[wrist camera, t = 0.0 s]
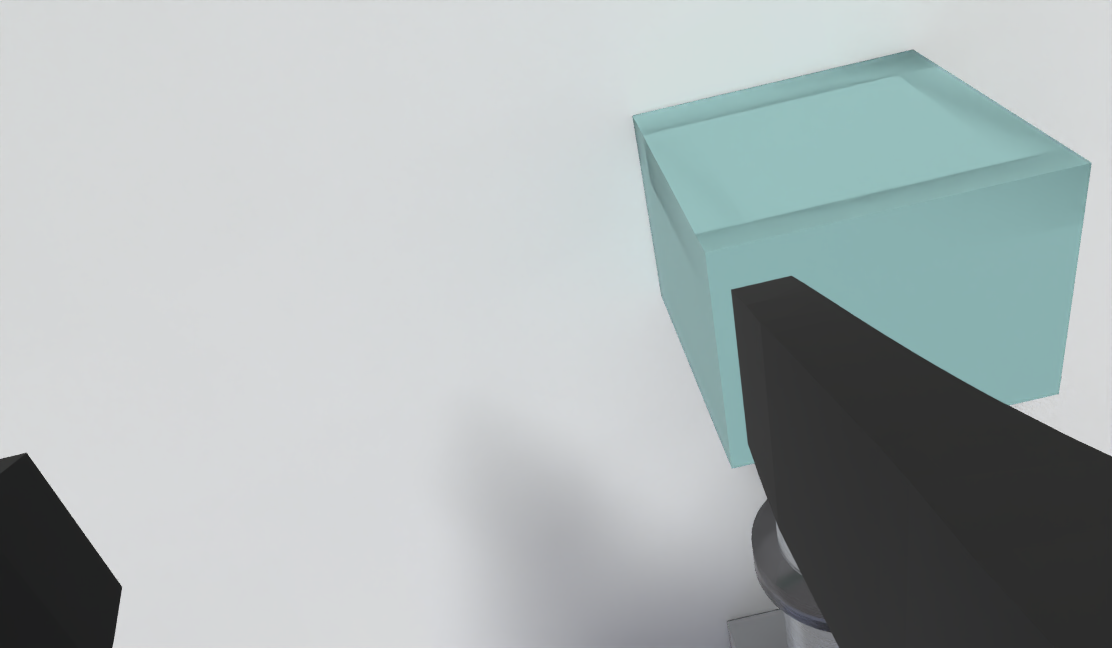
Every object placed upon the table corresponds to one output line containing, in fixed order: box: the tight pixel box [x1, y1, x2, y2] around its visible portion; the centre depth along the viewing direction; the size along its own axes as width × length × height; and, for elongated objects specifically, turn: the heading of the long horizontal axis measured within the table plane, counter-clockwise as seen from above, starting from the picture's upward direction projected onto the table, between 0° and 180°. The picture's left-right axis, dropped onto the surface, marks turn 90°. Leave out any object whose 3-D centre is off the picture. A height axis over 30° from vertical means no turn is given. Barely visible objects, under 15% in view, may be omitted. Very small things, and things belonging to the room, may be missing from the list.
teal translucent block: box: [633, 50, 1091, 468], centre depth 17 cm, size 4×6×6 cm
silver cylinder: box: [752, 499, 839, 648], centre depth 23 cm, size 15×4×4 cm, turn 11°
